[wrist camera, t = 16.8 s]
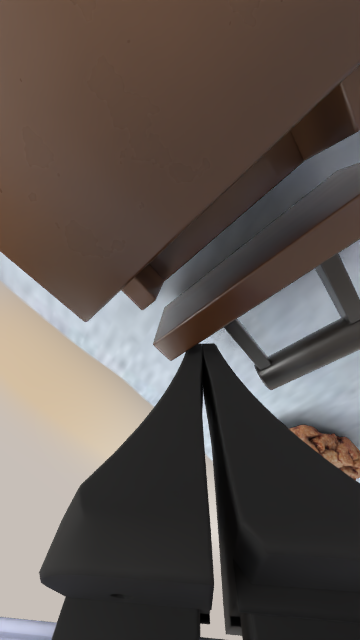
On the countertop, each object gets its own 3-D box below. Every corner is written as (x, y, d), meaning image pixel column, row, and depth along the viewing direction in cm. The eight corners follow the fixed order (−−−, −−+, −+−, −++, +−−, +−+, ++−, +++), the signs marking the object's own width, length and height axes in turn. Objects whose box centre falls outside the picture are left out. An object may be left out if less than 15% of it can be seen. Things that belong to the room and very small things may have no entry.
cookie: (341, 471, 20) (364, 508, 18) (242, 477, 21) (250, 513, 19) (364, 412, 16) (400, 449, 13) (239, 423, 17) (249, 459, 14)
